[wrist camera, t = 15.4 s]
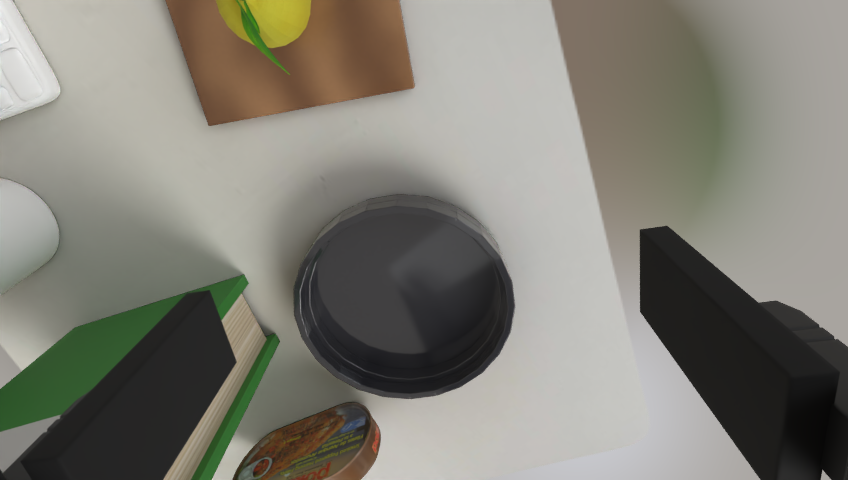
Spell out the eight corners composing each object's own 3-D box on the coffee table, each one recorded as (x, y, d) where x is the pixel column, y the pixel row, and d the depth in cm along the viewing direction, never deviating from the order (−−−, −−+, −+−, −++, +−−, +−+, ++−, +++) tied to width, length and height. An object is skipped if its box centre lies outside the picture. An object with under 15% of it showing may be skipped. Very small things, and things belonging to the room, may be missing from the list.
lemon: (314, 67, 36) (273, 79, 27) (234, 41, 35) (164, 44, 26) (336, -33, 33) (300, -58, 24) (250, -63, 33) (179, -101, 23)
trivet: (375, -136, 32) (373, -141, 31) (415, 86, 37) (414, 88, 36) (143, -84, 33) (135, -87, 32) (213, 124, 38) (208, 126, 38)
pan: (495, 175, 40) (500, 188, 36) (518, 360, 47) (524, 384, 43) (278, 212, 41) (265, 227, 38) (332, 385, 48) (325, 410, 45)
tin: (374, 390, 48) (363, 459, 41) (389, 413, 49) (381, 484, 42) (246, 440, 51) (213, 513, 43) (263, 460, 52) (233, 535, 44)
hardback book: (243, 274, 44) (48, 525, 21) (279, 341, 46) (139, 625, 24) (74, 327, 46) (-257, 601, 24) (118, 388, 49) (-144, 684, 27)
